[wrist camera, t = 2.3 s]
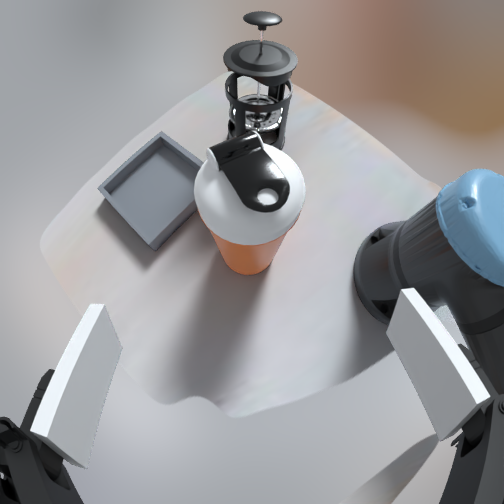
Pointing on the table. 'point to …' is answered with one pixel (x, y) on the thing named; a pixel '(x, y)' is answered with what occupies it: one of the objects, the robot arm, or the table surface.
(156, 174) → the tray
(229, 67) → the french press
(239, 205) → the shaker bottle
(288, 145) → the table surface
